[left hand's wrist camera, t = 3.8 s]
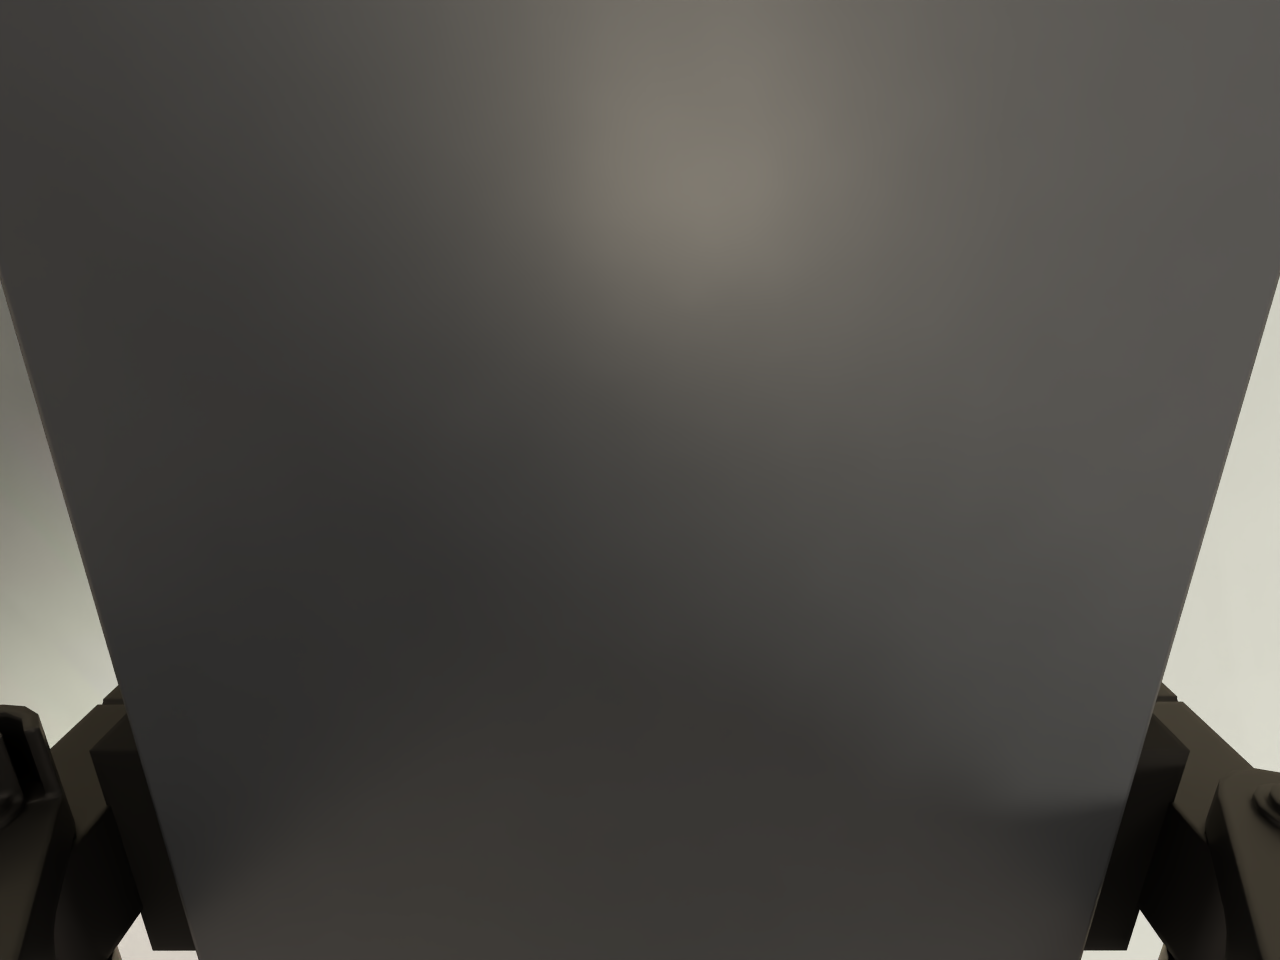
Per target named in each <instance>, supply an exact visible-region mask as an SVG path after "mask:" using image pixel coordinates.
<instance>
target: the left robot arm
mask: <svg viewBox="0 0 1280 960" xmlns="http://www.w3.org/2000/svg"><path fill="white" fill-rule="evenodd" d="M1139 910H1141V912H1142V913H1143V915H1144V916H1145V918H1146V919H1147V920H1148V922H1149V923H1150V925H1151V926H1152V928H1153V929H1154V930H1155V932H1156V933H1157V935H1158V936H1159V938H1160V939H1161V940H1162V942H1163V943H1164V944H1163V947H1162V950H1161V953H1160V956H1159V958H1158V960H1280V773H1279V772H1273V771H1268V770H1262V769H1256V768H1253V767H1252V766H1251V765H1250V764H1249V763H1248V762H1247V761H1246V760H1245V759H1244V758H1243V757H1241V756H1240V755H1239V754H1238V753H1237V752H1236V751H1235V750H1234V749H1233V748H1232V747H1231V746H1230V745H1229V744H1227V743H1226V742H1225V741H1224V740H1223V739H1222V738H1221V737H1220V736H1219V735H1218V734H1217V733H1216V732H1215V731H1214V730H1212V729H1211V728H1210V727H1209V726H1208V725H1207V724H1206V723H1205V722H1204V721H1203V720H1202V719H1201V718H1200V717H1199V716H1197V715H1196V714H1195V713H1194V712H1193V711H1192V710H1191V709H1190V708H1189V707H1188V706H1187V705H1186V704H1185V703H1184V702H1178V700H1177V696H1176V695H1175V694H1174V693H1173V692H1172V691H1171V690H1170V689H1169V688H1167V687H1166V686H1165V685H1164V684H1163V683H1162V682H1161V686H1160V689H1159V693H1158V696H1157V699H1156V703H1155V706H1154V710H1153V713H1152V717H1151V720H1150V723H1149V727H1148V730H1147V734H1146V737H1145V741H1144V744H1143V748H1142V751H1141V754H1140V758H1139V761H1138V765H1137V768H1136V772H1135V775H1134V778H1133V782H1132V785H1131V789H1130V792H1129V796H1128V799H1127V803H1126V806H1125V809H1124V813H1123V816H1122V820H1121V823H1120V827H1119V830H1118V834H1117V837H1116V840H1115V844H1114V847H1113V851H1112V854H1111V858H1110V861H1109V864H1108V868H1107V871H1106V875H1105V878H1104V882H1103V885H1102V889H1101V892H1100V895H1099V899H1098V902H1097V906H1096V909H1095V913H1094V916H1093V919H1092V923H1091V926H1090V930H1089V933H1088V937H1087V940H1086V944H1085V947H1084V950H1127V948H1128V944H1129V941H1130V938H1131V935H1132V932H1133V929H1134V926H1135V922H1136V919H1137V916H1138V913H1139ZM140 912H141V915H142V918H143V921H144V924H145V928H146V931H147V934H148V937H149V940H150V943H151V946H152V949H153V951H196V949H195V946H194V942H193V939H192V935H191V932H190V928H189V925H188V922H187V918H186V915H185V911H184V908H183V904H182V901H181V897H180V894H179V891H178V887H177V884H176V880H175V877H174V873H173V870H172V867H171V863H170V860H169V856H168V853H167V849H166V846H165V843H164V839H163V836H162V832H161V829H160V825H159V822H158V819H157V815H156V812H155V808H154V805H153V801H152V798H151V795H150V791H149V788H148V784H147V781H146V777H145V774H144V771H143V767H142V764H141V760H140V757H139V753H138V750H137V747H136V743H135V740H134V736H133V733H132V729H131V726H130V723H129V719H128V716H127V712H126V709H125V705H124V702H123V699H122V695H121V692H120V688H119V685H118V686H117V687H116V688H115V689H114V690H113V691H112V692H111V693H109V694H108V695H107V696H106V697H105V698H104V699H103V704H102V705H97V706H96V707H95V708H93V709H92V710H91V711H90V712H89V713H88V714H87V715H86V716H85V717H84V718H83V719H82V720H81V721H80V722H79V723H77V724H76V725H75V726H74V727H73V728H72V729H71V730H70V731H69V732H68V733H67V734H66V735H65V736H64V737H63V738H62V739H60V740H59V741H58V742H57V743H56V744H55V745H54V746H53V747H52V748H51V749H50V748H49V745H48V742H47V739H46V736H45V733H44V730H43V727H42V724H41V721H40V718H39V715H38V714H37V713H35V712H34V711H32V710H30V709H29V708H27V707H25V706H13V705H0V960H122V958H121V956H120V953H119V950H118V947H117V945H118V944H119V942H120V941H121V940H122V938H123V937H124V935H125V934H126V932H127V931H128V930H129V928H130V927H131V925H132V924H133V922H134V921H135V920H136V918H137V917H138V915H139V914H140Z"/></svg>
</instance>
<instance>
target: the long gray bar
mask: <svg viewBox="0 0 1280 960" xmlns="http://www.w3.org/2000/svg"><path fill="white" fill-rule="evenodd" d="M1279 277H1280V0H0V280H1V283H2V287H3V290H4V294H5V297H6V301H7V304H8V307H9V311H10V314H11V318H12V321H13V325H14V328H15V331H16V335H17V338H18V342H19V345H20V349H21V352H22V355H23V359H24V362H25V366H26V369H27V373H28V376H29V379H30V383H31V386H32V390H33V393H34V397H35V400H36V403H37V407H38V410H39V414H40V417H41V421H42V424H43V427H44V431H45V434H46V438H47V441H48V445H49V448H50V452H51V455H52V458H53V462H54V465H55V469H56V472H57V476H58V479H59V482H60V486H61V489H62V493H63V496H64V500H65V503H66V506H67V510H68V513H69V517H70V520H71V524H72V527H73V530H74V534H75V537H76V541H77V544H78V548H79V551H80V554H81V558H82V561H83V565H84V568H85V572H86V575H87V578H88V582H89V585H90V589H91V592H92V596H93V599H94V602H95V606H96V609H97V613H98V616H99V620H100V623H101V626H102V630H103V633H104V637H105V640H106V644H107V647H108V650H109V654H110V657H111V661H112V664H113V668H114V671H115V675H116V678H117V681H118V685H119V688H120V692H121V695H122V699H123V702H124V705H125V709H126V712H127V716H128V719H129V723H130V726H131V729H132V733H133V736H134V740H135V743H136V747H137V750H138V753H139V757H140V760H141V764H142V767H143V771H144V774H145V777H146V781H147V784H148V788H149V791H150V795H151V798H152V801H153V805H154V808H155V812H156V815H157V819H158V822H159V825H160V829H161V832H162V836H163V839H164V843H165V846H166V849H167V853H168V856H169V860H170V863H171V867H172V870H173V873H174V877H175V880H176V884H177V887H178V891H179V894H180V897H181V901H182V904H183V908H184V911H185V915H186V918H187V922H188V925H189V928H190V932H191V935H192V939H193V942H194V946H195V949H196V952H197V956H198V959H199V960H1081V957H1082V954H1083V950H1084V947H1085V944H1086V940H1087V937H1088V933H1089V930H1090V926H1091V923H1092V919H1093V916H1094V913H1095V909H1096V906H1097V902H1098V899H1099V895H1100V892H1101V889H1102V885H1103V882H1104V878H1105V875H1106V871H1107V868H1108V864H1109V861H1110V858H1111V854H1112V851H1113V847H1114V844H1115V840H1116V837H1117V834H1118V830H1119V827H1120V823H1121V820H1122V816H1123V813H1124V809H1125V806H1126V803H1127V799H1128V796H1129V792H1130V789H1131V785H1132V782H1133V778H1134V775H1135V772H1136V768H1137V765H1138V761H1139V758H1140V754H1141V751H1142V748H1143V744H1144V741H1145V737H1146V734H1147V730H1148V727H1149V723H1150V720H1151V717H1152V713H1153V710H1154V706H1155V703H1156V699H1157V696H1158V693H1159V689H1160V686H1161V682H1162V679H1163V675H1164V672H1165V668H1166V665H1167V662H1168V658H1169V655H1170V651H1171V648H1172V644H1173V641H1174V638H1175V634H1176V631H1177V627H1178V624H1179V620H1180V617H1181V613H1182V610H1183V607H1184V603H1185V600H1186V596H1187V593H1188V589H1189V586H1190V583H1191V579H1192V576H1193V572H1194V569H1195V565H1196V562H1197V558H1198V555H1199V552H1200V548H1201V545H1202V541H1203V538H1204V534H1205V531H1206V528H1207V524H1208V521H1209V517H1210V514H1211V510H1212V507H1213V503H1214V500H1215V497H1216V493H1217V490H1218V486H1219V483H1220V479H1221V476H1222V472H1223V469H1224V466H1225V462H1226V459H1227V455H1228V452H1229V448H1230V445H1231V442H1232V438H1233V435H1234V431H1235V428H1236V424H1237V421H1238V417H1239V414H1240V411H1241V407H1242V404H1243V400H1244V397H1245V393H1246V390H1247V387H1248V383H1249V380H1250V376H1251V373H1252V369H1253V366H1254V362H1255V359H1256V356H1257V352H1258V349H1259V345H1260V342H1261V338H1262V335H1263V332H1264V328H1265V325H1266V321H1267V318H1268V314H1269V311H1270V307H1271V304H1272V301H1273V297H1274V294H1275V290H1276V287H1277V283H1278V280H1279Z"/></svg>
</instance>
